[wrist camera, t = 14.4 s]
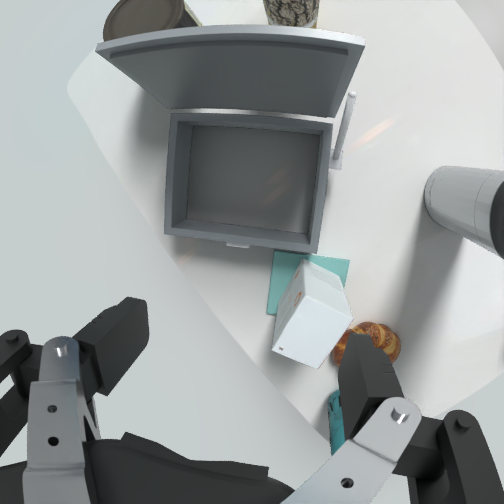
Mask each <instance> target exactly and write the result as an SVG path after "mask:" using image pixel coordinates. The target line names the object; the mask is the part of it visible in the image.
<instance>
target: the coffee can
mask: <svg viewBox="0 0 504 504" xmlns="http://www.w3.org/2000/svg"><path fill="white" fill-rule="evenodd" d="M198 26H203V24H202V23H201V22H200V20H199V19H198V18H197V16H196V15H195V14H194V13H193V11H192V10H191V9H190V7H189V6H188V5H187V4H186V2H185V1H184V0H120V1H119V2H118V3H117V4H116V6H115V7H114V8H113V9H112V11H111V12H110V14H109V15H108V17H107V19H106V22H105V25H104V29H103V39H104V42H106V41H110V40H114V39H118V38H123V37H127V36H132V35H138V34H143V33H149V32H155V31H162V30H169V29H177V28H186V27H198Z"/></svg>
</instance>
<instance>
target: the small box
mask: <svg viewBox="0 0 504 504" xmlns="http://www.w3.org/2000/svg"><path fill="white" fill-rule="evenodd" d="M353 319H354V317H353V314H352V311H351V308H350V305H349V302H348V299H347V297H346V294H345V291H344V288H343V285H342V283H341V280H340V277H339V276H338V275H336V274H334V273H332V272H330V271H328V270H326V269H324V268H322V267H320V266H318V265H316V264H314V263H312V262H310V261H308V260H306V259H304V258H302V259H301V261H300V263H299V265H298V267H297V268H296V270H295V272H294V274H293V276H292V278H291V279H290V281H289V283H288V285H287V287H286V289H285V290H284V292H283V294H282V296H281V298H280V300H279V302H278V309H277V318H276V324H275V330H274V337H273V343H272V351H274V352H276V353H279V354H281V355H283V356H286V357H288V358H290V359H293V360H295V361H298V362H300V363H303V364H305V365H308V366H310V367H313V368H316V369H319V367H320V366H321V365H322V363H323V362H324V361H325V359H326V358H327V357H328V355H329V354H330V352H331V351H332V350H333V348H334V347H335V346H336V344H337V343H338V341H339V340H340V338H341V337H342V335H343V334H344V333H345V331H346V330H347V328H348V327H349V325H350V324H351V322H352V321H353Z"/></svg>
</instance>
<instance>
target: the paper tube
mask: <svg viewBox="0 0 504 504" xmlns="http://www.w3.org/2000/svg"><path fill="white" fill-rule="evenodd" d="M263 3H264V7H265V11H266V15H267V18H268V22H269V25H277V26H292V27H303V28H312V29H316V24H317V17H318V9H319V0H263Z"/></svg>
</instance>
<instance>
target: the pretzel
mask: <svg viewBox="0 0 504 504" xmlns="http://www.w3.org/2000/svg"><path fill="white" fill-rule="evenodd" d="M350 333H360V334H370V336H371V338H372V341H373V344H374V347H375V348H381V349H382V350H383V351H384V352H385V353H386V354H387V355H388V356H389V358H390V360H391V363H393V362H394V361H395V360H396V359H397V357H398V356H399V353H400V349H401V344H400V340H399V338H398V336H397V335H396V334H395V333H393V332H392V331H391V330H390V329H389V328H388V327H387V326H385V325H382V324H375V323H372V322H364V323H361V324H359V325H357V326H356V327H354V328H353V329H349V330H347V331H345V333H344V334H343V335H342V337H341V338H340V340H339V341H338V343H337V344H336V346H335V347H334V349H333V352H332V360H333V362H334V363H335V364H336V365H337V366H338V367H339V366H340V363H341V360H342V357H343V353H344V350H345V347H346V343H347V340H348V337H349V334H350Z"/></svg>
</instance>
